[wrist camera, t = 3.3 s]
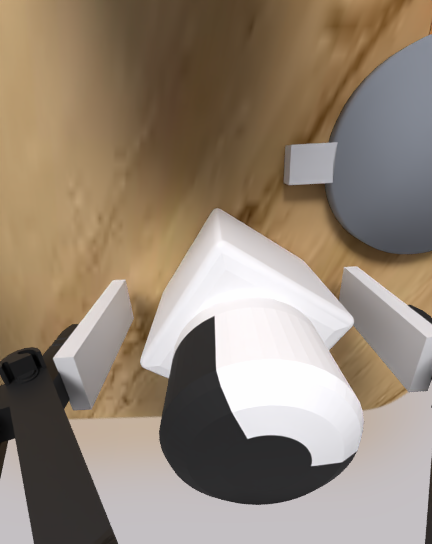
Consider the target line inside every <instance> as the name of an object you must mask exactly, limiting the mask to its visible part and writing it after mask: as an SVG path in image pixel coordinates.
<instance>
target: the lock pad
mask: <svg viewBox="0 0 432 544" xmlns="http://www.w3.org/2000/svg"><path fill="white" fill-rule="evenodd" d="M284 183H285V184H287V185H301V184H319V183H325V190H326V195H327V199H328V202H329V205H330V207H331V210H332V212H333V213H334V215H335V217H336V219H337V220H338V221H339V223H340V224H341V225H342V227H343V228H344V229H346V230H347V231H348V232H349V233H350V234H351V235H353V236H354V237H356V238H357V239H359V240H361V241H362V242H364V243H366V244H368V245H369V246H372V247H374V248H376V249H378V250H382V251H385V252H389V253H396V254H417V253H424V252H428V251H432V25H431V30H430V34H429V35H428V36H426V37H424V38H422V39H420V40H418V41H416V42H414V43H413V44H411V45H409V46H407V47H405V48H404V49H402V50H400V51H399V52H397V53H395V54H394V55H392V56H390V57H389V58H388V59H386V60H385V61H384V62H383V63H381V64H380V65H379V66H377V67H376V68H375V69H374V70H373V71H372V72H371V73H370V74H369V75H368V76H367V77H366V78H365V79H364V80H363V81H362V83H361V84H360V85H359V86H358V87H357V89H356V90H355V91H354V92H353V94H352V95H351V97H350V98H349V100H348V101H347V103H346V104H345V105H344V107H343V109H342V111H341V113H340V115H339V117H338V119H337V121H336V123H335V125H334V128H333V130H332V133H331V136H330V139H329V143H315V144H298V145H286V146H285V166H284Z"/></svg>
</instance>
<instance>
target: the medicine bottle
mask: <svg viewBox="0 0 432 544" xmlns="http://www.w3.org/2000/svg"><path fill="white" fill-rule="evenodd" d="M353 324H354V319H353V317H352V316H351V314H350V313H349V312H348V311H347V310H346V309H345V308H344V306H343V305H342V304H341V303H340V302H339V301H338V299H337V298H336V297H335V296H334V295H333V294H332V293H331V291H330V290H329V289H328V288H327V287H326V286H325V285H324V283H323V282H322V281H321V280H320V279H319V278H318V277H317V275H316V274H315V273H314V272H313V271H312V270H311V269H310V267H309V266H308V265H307V264H306V263H305V262H304V260H302V259H300V258H299V257H297V256H295V255H294V254H292V253H291V252H289V251H287V250H286V249H284V248H283V247H281V246H279V245H278V244H276V243H274V242H273V241H271V240H270V239H268V238H266V237H265V236H263V235H262V234H260V233H258V232H257V231H255V230H254V229H252V228H250V227H249V226H247V225H245V224H244V223H242V222H241V221H239V220H237V219H236V218H234V217H233V216H231V215H229V214H228V213H226V212H224V211H223V210H221V209H219V208H216V209H214V210H213V211H212V212H211V214H210V215H209V217H208V219H207V220H206V222H205V224H204V225H203V227H202V229H201V230H200V232H199V234H198V235H197V237H196V238H195V240H194V242H193V243H192V245H191V247H190V248H189V250H188V252H187V253H186V255H185V257H184V258H183V260H182V262H181V263H180V265H179V267H178V268H177V270H176V272H175V273H174V275H173V277H172V278H171V280H170V282H169V283H168V285H167V287H166V288H165V290H164V292H163V294H162V297H161V300H160V303H159V306H158V309H157V312H156V315H155V318H154V321H153V324H152V327H151V330H150V333H149V336H148V339H147V341H146V344H145V347H144V350H143V353H142V356H141V360H140V364H141V366H142V367H143V368H145V369H147V370H150V371H152V372H154V373H157V374H159V375H161V376H164V377H166V378H168V379H169V381H168V386H167V392H166V397H165V403H164V408H163V414H162V419H161V425H160V430H159V435H160V444H161V448H162V451H163V453H164V455H165V457H166V459H167V461H168V462H169V464H170V465H171V467H172V468H173V470H174V471H175V473H176V474H177V475H178V476H179V477H180V478H181V479H182V480H183V481H184V482H185V483H187V484H188V485H189V486H191V487H192V488H194V489H196V490H197V491H199V492H201V493H204V494H206V495H209V496H212V497H215V498H218V499H221V500H226V501H230V502H235V503H241V504H253V505H254V504H255V505H261V504H273V503H280V502H284V501H289V500H292V499H296V498H298V497H301V496H304V495H306V494H308V493H310V492H312V491H314V490H316V489H318V488H320V487H321V486H323V485H325V484H327V483H328V482H330V481H331V480H333V479H334V478H335V477H336V476H338V475H339V474H340V473H341V472H342V471H343V470H344V469H345V468H346V467H347V466H348V465H349V463H350V462H351V461H352V460H353V457H354V456H355V454H356V452H357V450H358V447H359V444H360V440H361V436H362V432H363V424H364V418H363V411H362V408H361V405H360V402H359V400H358V399H357V397H356V395H355V393H354V392H353V390H352V388H351V387H350V385H349V383H348V382H347V380H346V378H345V377H344V375H343V373H342V372H341V370H340V368H339V367H338V365H337V363H336V362H335V360H334V358H333V357H332V355H331V353H330V352H329V350H330V349H331V348H332V347H333V346H334V345H335V344H336V343H337V341H338V340H339V339H340V338H341V337H342V336H343V335H344V334H345V333H346V332H347V331H348V330H349V329H350V328H351V327H352V326H353Z"/></svg>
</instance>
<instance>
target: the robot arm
mask: <svg viewBox="0 0 432 544" xmlns="http://www.w3.org/2000/svg"><path fill="white" fill-rule="evenodd" d="M339 302H340V303H341V304H342V305H343V306H344V308H345V309H346V310H347V311H348V312H349V313H350V314H351V316H352V317H353V319H354V324H353V326H354V327H355V328H356V329H357V330H358V332H359V333H360V334H361V335H362V336H363V338H364V339H365V340H366V341H367V342H368V344H369V345H370V346H371V347H372V348H373V350H374V351H375V352H376V353H377V354H378V356H379V357H380V358H381V359H382V361H383V362H384V363H385V364H386V365H387V367H388V368H389V369H390V370H391V371H392V373H393V374H394V375H395V376H396V377H397V379H398V380H399V381H400V382H401V383H402V385H403V386H404V387H405V388H406V389H407V391H408V392H418V391H428V388H429V385H430V382H431V380H432V318H431V316H429V315H428V314H427V313H425V312H424V311H423V310H420V309H418V308H416V307H414V306H412V305H406V304H405V303H404V302H402V301H401V300H400V299H398V298H397V297H396V296H395V295H393V294H392V293H391V292H389V291H388V290H387V289H386V288H384V287H383V286H382V285H380V284H379V283H378V282H376V281H375V280H374V279H373V278H371V277H370V276H369V275H367V274H366V273H365V272H363V271H362V270H361V269H360V268H358V267H357V266H356V267H344V271H343V277H342V284H341V290H340V297H339ZM133 319H134V317H133V312H132V307H131V303H130V298H129V293H128V288H127V284H126V280H113V281H112V282H111V283H110V285H109V286H108V287H107V288H106V290H105V291H104V292H103V294H102V295H101V296H100V298H99V299H98V300H97V301H96V303H95V304H94V305H93V307H92V308H91V309H90V311H89V312H88V313H87V314H86V316H85V317H84V318H83V320H82V321H81V322H80V324H72V325H71V326H69V327H68V328H67V329H65V330H64V331H63V332H62V333H61V334H60V335H59V336H58V338H57V340H55V341H54V342H53V344H52V346H50V347H49V348H48V350H47V351H46V352H45V353H44V355H43V356H42V354H41V352H40V350H39V349H38V348H33V347H31V348H24V349H21V350H18V351H16V352H14V353H11V354H9V355H8V356H7V357H5V358H4V359H3V360H2V361H1V362H0V375H1V377H2V379H3V381H4V383H5V384H4V385H0V477H1V473H2V468H3V463H4V458H5V454H6V449H7V444H8V440H11V439H14V438H15V439H16V445H17V451H18V456H19V461H20V467H21V473H22V478H23V484H24V489H25V495H26V501H27V506H28V512H29V518H30V523H31V528H32V534H33V540H34V544H118V542H117V540H116V537H115V535H114V532H113V530H112V527H111V525H110V523H109V520H108V518H107V515H106V512H105V510H104V508H103V505H102V503H101V500H100V497H99V495H98V492H97V490H96V487H95V485H94V483H93V480H92V478H91V475H90V473H89V470H88V468H87V465H86V463H85V460H84V458H83V455H82V453H81V450H80V448H79V445H78V443H77V440H76V438H75V435H74V433H73V430H72V428H71V425H70V423H69V420H68V418H67V415H66V413H65V410H64V408H65V407H66V405H67V403H68V401H70V404H71V406H72V409H73V410H88V409H92V407H93V405H94V403H95V401H96V399H97V396H98V394H99V392H100V390H101V388H102V386H103V384H104V381H105V379H106V377H107V375H108V373H109V371H110V368H111V366H112V364H113V362H114V360H115V358H116V356H117V353H118V351H119V349H120V347H121V345H122V343H123V341H124V338H125V336H126V334H127V332H128V330H129V328H130V325H131V323H132V321H133ZM425 544H432V460H431V474H430V487H429V500H428V512H427V527H426V539H425Z"/></svg>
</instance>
